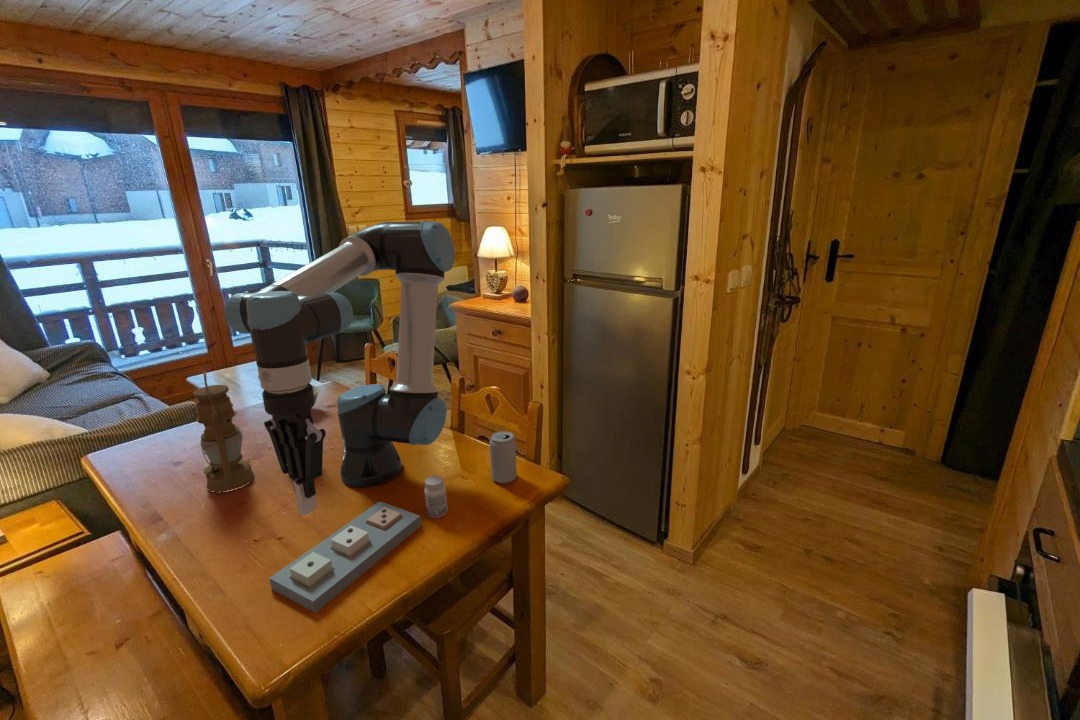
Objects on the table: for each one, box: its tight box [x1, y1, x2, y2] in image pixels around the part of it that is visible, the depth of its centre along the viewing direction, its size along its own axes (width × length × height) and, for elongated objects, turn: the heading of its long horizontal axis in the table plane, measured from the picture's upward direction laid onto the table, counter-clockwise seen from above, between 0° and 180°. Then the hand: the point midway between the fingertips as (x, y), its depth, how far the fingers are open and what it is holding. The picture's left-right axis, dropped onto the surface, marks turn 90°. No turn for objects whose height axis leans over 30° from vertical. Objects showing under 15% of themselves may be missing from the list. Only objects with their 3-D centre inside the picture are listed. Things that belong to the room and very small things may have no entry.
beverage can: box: [489, 430, 518, 485], centre depth 123 cm, size 6×6×12 cm
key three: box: [367, 507, 401, 531], centre depth 106 cm, size 5×5×3 cm
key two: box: [331, 525, 370, 557], centre depth 98 cm, size 5×5×3 cm
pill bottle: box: [424, 474, 449, 519], centre depth 111 cm, size 5×5×8 cm
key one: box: [289, 552, 333, 588], centre depth 91 cm, size 5×5×3 cm
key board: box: [268, 501, 422, 614], centre depth 99 cm, size 27×12×2 cm, turn 151°
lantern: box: [192, 370, 255, 492], centre depth 122 cm, size 15×10×30 cm
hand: (308, 510), depth 88 cm, fingers closed
